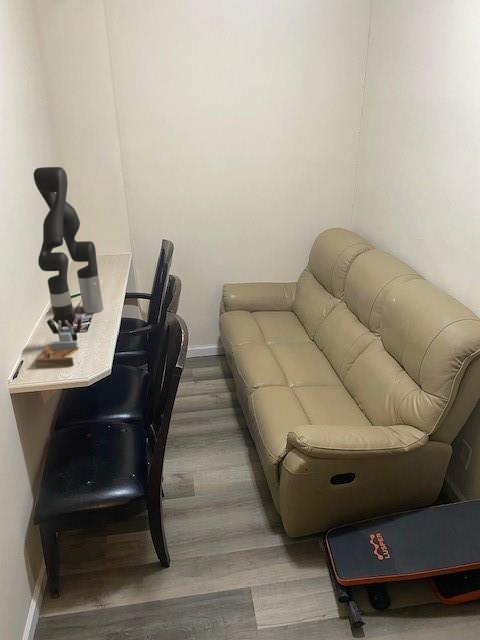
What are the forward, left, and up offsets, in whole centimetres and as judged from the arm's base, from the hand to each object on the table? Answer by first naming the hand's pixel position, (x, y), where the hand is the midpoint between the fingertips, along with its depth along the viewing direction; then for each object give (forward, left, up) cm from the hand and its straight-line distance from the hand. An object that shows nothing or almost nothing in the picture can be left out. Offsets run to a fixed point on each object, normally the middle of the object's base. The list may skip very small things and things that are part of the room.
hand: (68, 341), depth 190 cm
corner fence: (+14, 0, -1) cm, 14 cm away
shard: (+9, -1, -2) cm, 9 cm away
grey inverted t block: (0, 0, -1) cm, 1 cm away
